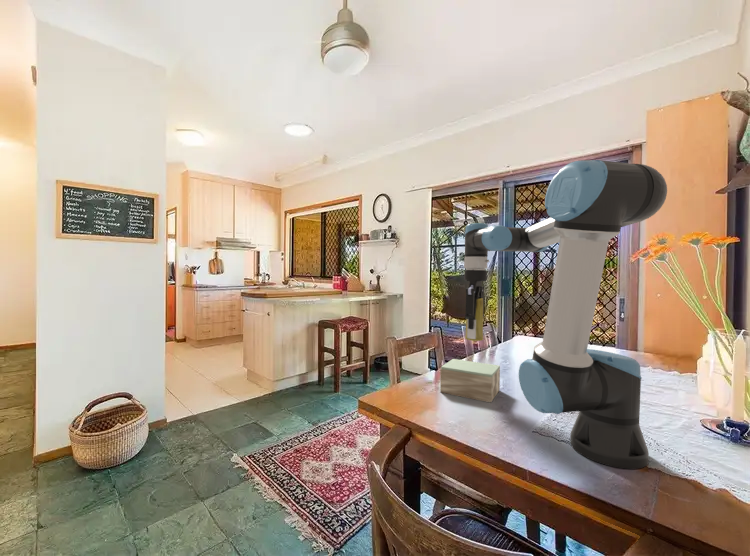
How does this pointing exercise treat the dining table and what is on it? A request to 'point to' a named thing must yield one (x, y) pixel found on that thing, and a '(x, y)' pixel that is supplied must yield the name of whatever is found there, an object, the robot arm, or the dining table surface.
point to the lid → (471, 367)
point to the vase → (478, 321)
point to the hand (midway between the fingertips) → (474, 336)
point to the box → (470, 385)
